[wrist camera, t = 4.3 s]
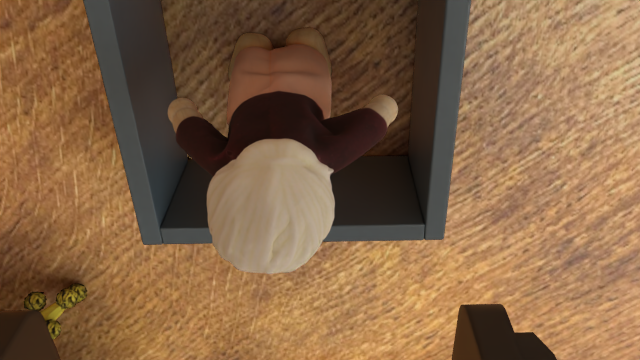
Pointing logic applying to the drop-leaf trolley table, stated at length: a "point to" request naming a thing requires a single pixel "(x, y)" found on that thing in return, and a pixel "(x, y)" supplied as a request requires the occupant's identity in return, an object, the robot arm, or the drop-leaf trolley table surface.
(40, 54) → the drop-leaf trolley table surface
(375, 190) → the crate
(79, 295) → the decorative flower
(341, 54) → the drop-leaf trolley table surface
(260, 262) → the grandmother figurine
